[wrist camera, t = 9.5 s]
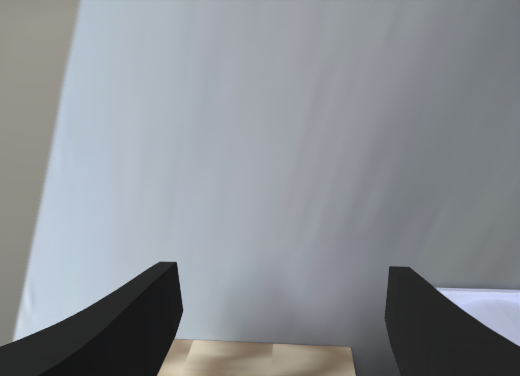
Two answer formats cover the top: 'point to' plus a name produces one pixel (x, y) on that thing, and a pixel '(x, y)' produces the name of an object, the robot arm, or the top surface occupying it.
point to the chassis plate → (255, 359)
